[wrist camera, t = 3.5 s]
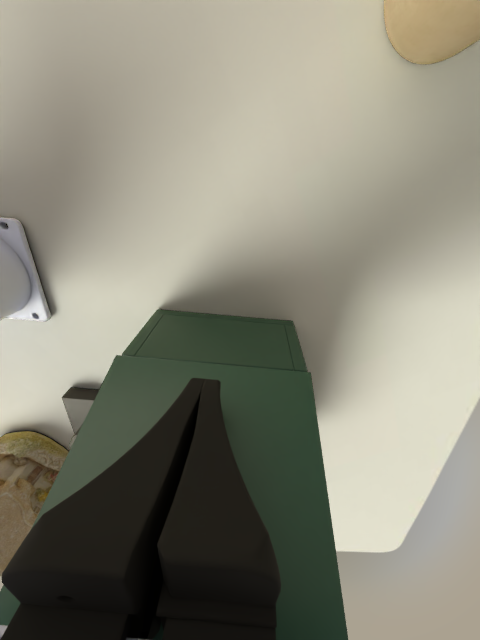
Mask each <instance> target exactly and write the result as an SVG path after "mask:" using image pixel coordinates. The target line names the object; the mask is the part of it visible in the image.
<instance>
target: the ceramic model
mask: <svg viewBox="0 0 480 640" xmlns="http://www.w3.org/2000/svg"><path fill="white" fill-rule="evenodd" d="M68 453H69V451H68V450H66V449H65V448H64V447H62V446H61V445H59V444H58V443H56V442H55V441H53V440H51V439H50V438H48V437H46V436H44V435H41V434H39V433H36V432H31V431H22V432H14V433H9V434H5V435H3V436H2V437H0V576H2V573H3V571H4V570H5V568H6V567H7V565H8V563H9V562H10V560H11V559H12V557H13V556H14V554H15V553H16V551H17V550H18V548H19V547H20V545H21V544H22V542H23V540H24V539H25V537H26V536H27V535H28V533H29V532H30V530H31V528H32V526H33V524H34V522H35V520H36V518H37V516H38V514H39V512H40V510H41V508H42V506H43V504H44V502H45V499H46V497H47V495H48V493H49V491H50V489H51V487H52V485H53V483H54V481H55V479H56V477H57V475H58V473H59V471H60V469H61V467H62V465H63V463H64V461H65V459H66V457H67V455H68Z"/></svg>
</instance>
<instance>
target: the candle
mask: <svg viewBox="0 0 480 640" xmlns="http://www.w3.org/2000/svg"><path fill="white" fill-rule="evenodd" d="M384 19H385V26H386V31H387V34H388V37H389V39H390V42H391V44H392V46H393V47H394V48H395V50H396V51H397V52H398V53H399V54H400V55H401V56H402V57H403V58H405V59H406V60H408V61H410V62H412V63H417V64H433V63H436V62H440V61H443V60H446V59H448V58H450V57H452V56H454V55H456V54H457V53H459V52H461V51H462V50H464V49H466V48H467V47H469V46H470V45H472V44H474V43H475V42H477V41H478V40H480V0H384Z"/></svg>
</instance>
